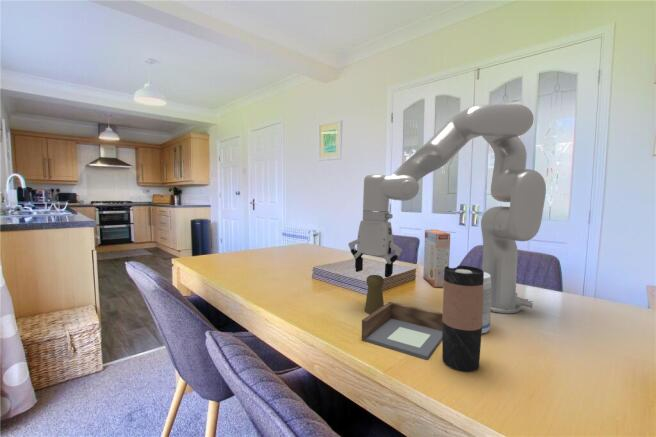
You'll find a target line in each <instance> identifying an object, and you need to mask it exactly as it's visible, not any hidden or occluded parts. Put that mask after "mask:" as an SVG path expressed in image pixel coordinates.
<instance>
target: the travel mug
mask: <svg viewBox="0 0 656 437" xmlns="http://www.w3.org/2000/svg"><path fill="white" fill-rule="evenodd" d="M483 281H484V271H483V270H482V268H479V267H475V266H472V265H471V266H470V265H457V266H456V267H450V266H449V267H448V266H446V267H445V269H444V287H443V293H442V297H443V298H442V299H443V300H442V313H443V316H442V341H441V343H442V346H441V348H442V349H441V350H442V352H441V353H442V357H441V358H442V362H443V364H445V366H447V367H448V368H450V369H453V370H454V371H459V372H464V373H465V372H466V373H470V372H472V373H473V372H475V371H477V370H478V369H479V367H480V359H481V357H480V356H481V346H482V345H481V344H482V336H483V335H482V334H483V333H482V314H483Z"/></svg>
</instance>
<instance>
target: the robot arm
mask: <svg viewBox="0 0 656 437" xmlns="http://www.w3.org/2000/svg"><path fill="white" fill-rule="evenodd" d="M533 123H534V114H533V112H532V110H531V109H530V108H529V107H527V106H526V105H523V104H518V103H515V104H514V103H511V104H510V103H507V104H500V103H499V104H478V105H477V104H476V105H473V106H470V107H468V108H466V109H464V110H463V111H460V112H458V113H456V114H455V115H453V116H452V117H451V118H450V119H449V120H448V121H446V123H445V124H443V126H442V127H441V128H440V129H439V130H438V131H437V132H436V133H435V134H434V135H433V136H432V137H431V138H429V140H427V142H425V144H424V145H422V146H421V147H420V148H418V150H417V151H416V152H415V153H413V155H411V156H410V157H409V158H408V159H406V160H405V161H404V162H403V163H402V164H400V166H399V167H398V168H397V169H396V170H394V172H393V173H391V175H385V174H368V175H366V176H365V177H364V179H363V200H362V201H363V202H362V220H360V222H359V227H358V232H357V238H356V239H355V240H353V241H350V242H349V243H348V247H349V250H350V253H351V254H352V256H353V259H355V260H354V261H355V262H354V268H355V272H356V273H358V272H361V271H363V268H364V267H363V266H364V263H363V262H364V258H363V255H369V256H376V257H383V258H384V260H385V261H386V263H385V264H384V277H385V278H389V277H391V276H392V275H393V272H394V270H393V269H394V263H395V262H396V261H397V260H398V259H399V258H400V256H401V254H403V251H404V250H403V249H402V248H401V247H400V246H398V245H397V244H395V243H394V239H393V238H394V237H393V236H394V234H393V227H392V223H391V221H389V220H390V219H393V214H392V213H390V211H389V206H390V205H389V204H390V200H393V201H404V202H405V201H410V200H412V199H414V198H415V197H416V195H418V193H419V190H420V184H419V182H418V181H420V180H421V179H422V178H424V177H425V176H427V175H428V174H430V173H432V172H435V171H437V170H439V169H441V168H442V167H444V166H446V164H448V162H450V161H451V159H453V158H454V156H456V155H457V154H458V153H459V152H460V151H461V149H462V148H463V147H465V146H466V145H467V143H469V142H470V141H471V140H473V139H475V138H478V137H482V138H483V139H484V140H485V141H486V142H487V143H488V145H490V147H491V148H492V151H493V155H494V163H493V169H492V175H491V176H492V177H491V182H490V183H491V184H490V194H491V197H492V199H494V200H496V201H498V202H502V203H509V206H502V205H501V206H492V207H490V208H489V209H487V210H486V211H485V212H484V213H483V215H482V216H481V219H480V228H481V236H482V268H481V269H482V270H483V271H484V272H486V273H488V274H490V275H491V312H493V313H501V314H516V313H520V312H521V310H522V307H525V308H529V309H530V308H531V309H533V306H534V304H533V302H534V301H532V300H529V299H528V298H521V297H520V296H518V292H517V278H518V277H517V274H518V272H517V271H518V258H519V257H518V255H519V254H518V253H519V252H518V246H517V245H518V244H517V242H527V241H530V240H532V239H533V238H534V237H536V235H537V234H538V233H539V231H540V228H541V224H542V219H543V213H544V207H545V199H546V194H547V193H546V192H547V185H546V182H545V179H544V177H543V175H542V174H541V173H540V172H539V171H538V170H537V171H536V170H534V169H529V168H527V158H528V157H527V155H528V153H527V150H526V145H525V144H524V143H523V140H521V138H520V137H521V136H522V135H525V134H526V133H527V132H529V130H530V129H531V128H532V126H533ZM526 168H527V169H526ZM393 252H395V253H394V255H392V254H393ZM521 306H522V307H521Z"/></svg>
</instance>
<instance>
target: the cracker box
mask: <svg viewBox="0 0 656 437" xmlns="http://www.w3.org/2000/svg"><path fill="white" fill-rule="evenodd" d="M423 249H424V250H423V277H422V278H423V279H424V280H425V281H427V283H429V285H431V286H432V287H433V288H444V269H445V267H446V266H448V267H449V268H450V255H451V254H450V250H451V233H449V232H445V231H442V230H439V229H424V246H423Z"/></svg>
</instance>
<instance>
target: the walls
mask: <svg viewBox="0 0 656 437" xmlns="http://www.w3.org/2000/svg"><path fill="white" fill-rule="evenodd" d="M442 316H443V312H440V311H435V310H430V309H426V308H422V307H418V306H417V307H416V306H411V305H407V304H401V303H396V302H391V301H388V302H387V303H385V304H384V306H382V307H381V308H379V309H378V310H376V311H375V312H373V313H372V314H368V315H367V316H366V317H364V318H363V319H361V341H363V340H364V341H363V342H366V341H365V340H366V338H367V337H368V336H370V335H371V334H372V333H373V332H375V331H376V330H377V329H378V328H380V327H381V326H382V325H383V324H385V323H386V322H387V321H389V320H390V319H396V320H400V321H404V322H408V323H412V324H416V325H420V326H424V327H428V328H433V329H437V330H441V331H442ZM363 338H365V339H363Z"/></svg>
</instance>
